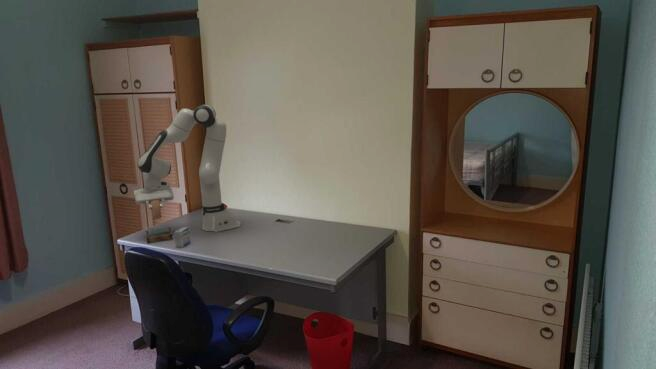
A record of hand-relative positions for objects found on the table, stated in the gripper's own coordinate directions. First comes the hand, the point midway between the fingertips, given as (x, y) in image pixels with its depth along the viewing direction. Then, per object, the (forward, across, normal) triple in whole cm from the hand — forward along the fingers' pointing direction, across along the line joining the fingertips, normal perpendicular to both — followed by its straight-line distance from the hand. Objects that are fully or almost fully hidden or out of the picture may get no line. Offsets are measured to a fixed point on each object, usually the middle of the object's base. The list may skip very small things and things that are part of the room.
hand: (156, 207), depth 257 cm
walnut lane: (+12, 0, +13) cm, 17 cm away
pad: (+3, +1, +21) cm, 22 cm away
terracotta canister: (+4, 0, +5) cm, 6 cm away
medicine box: (+26, +11, -1) cm, 28 cm away
